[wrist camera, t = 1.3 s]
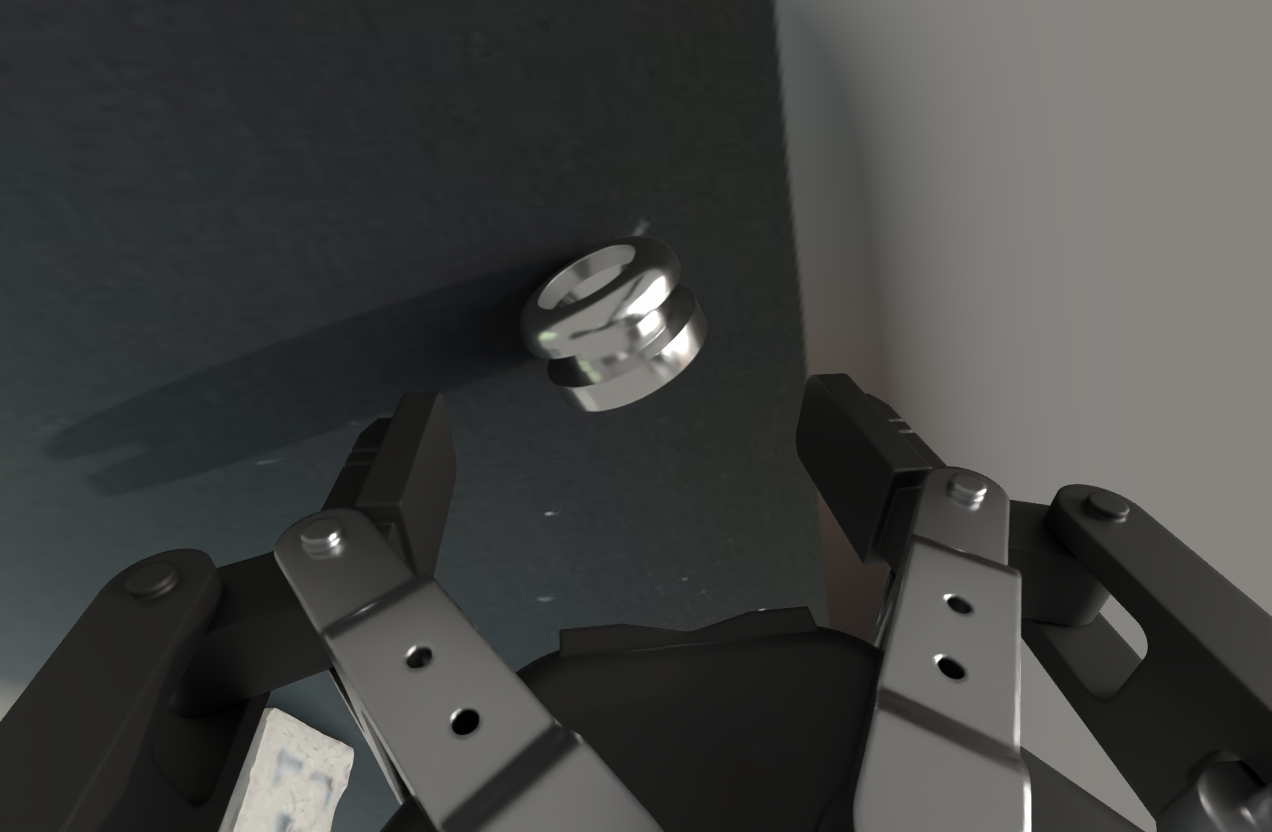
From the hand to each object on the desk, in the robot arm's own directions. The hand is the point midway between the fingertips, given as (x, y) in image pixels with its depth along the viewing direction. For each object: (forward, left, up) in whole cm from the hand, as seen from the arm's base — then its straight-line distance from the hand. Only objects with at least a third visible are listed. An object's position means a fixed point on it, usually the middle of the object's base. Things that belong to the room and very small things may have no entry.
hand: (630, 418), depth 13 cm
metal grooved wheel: (0, 0, -8) cm, 8 cm away
